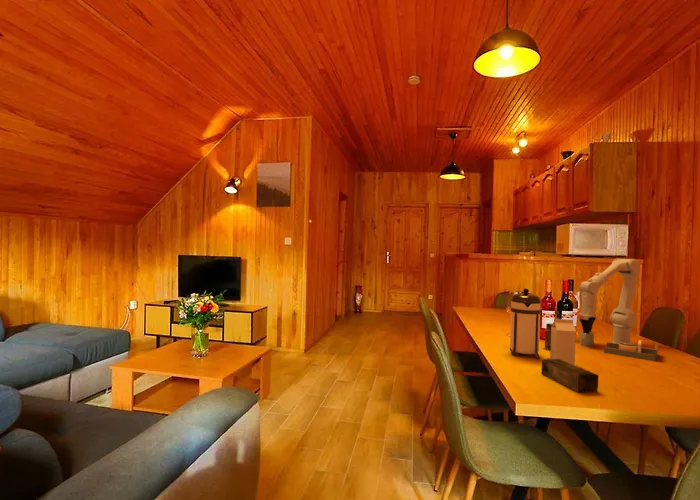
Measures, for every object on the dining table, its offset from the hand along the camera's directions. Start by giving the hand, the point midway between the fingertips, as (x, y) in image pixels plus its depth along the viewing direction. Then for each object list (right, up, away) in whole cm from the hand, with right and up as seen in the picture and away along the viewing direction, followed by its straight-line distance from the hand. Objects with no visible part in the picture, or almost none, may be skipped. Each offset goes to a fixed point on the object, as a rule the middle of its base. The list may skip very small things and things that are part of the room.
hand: (587, 332), depth 189 cm
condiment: (-22, -7, -9) cm, 25 cm away
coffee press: (-40, -6, -17) cm, 44 cm away
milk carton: (-31, -7, -33) cm, 46 cm away
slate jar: (0, -7, 0) cm, 7 cm away
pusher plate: (+14, -7, -16) cm, 22 cm away
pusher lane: (+12, -7, -14) cm, 19 cm away
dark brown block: (-41, -7, -53) cm, 68 cm away
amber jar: (+11, -7, -13) cm, 18 cm away
